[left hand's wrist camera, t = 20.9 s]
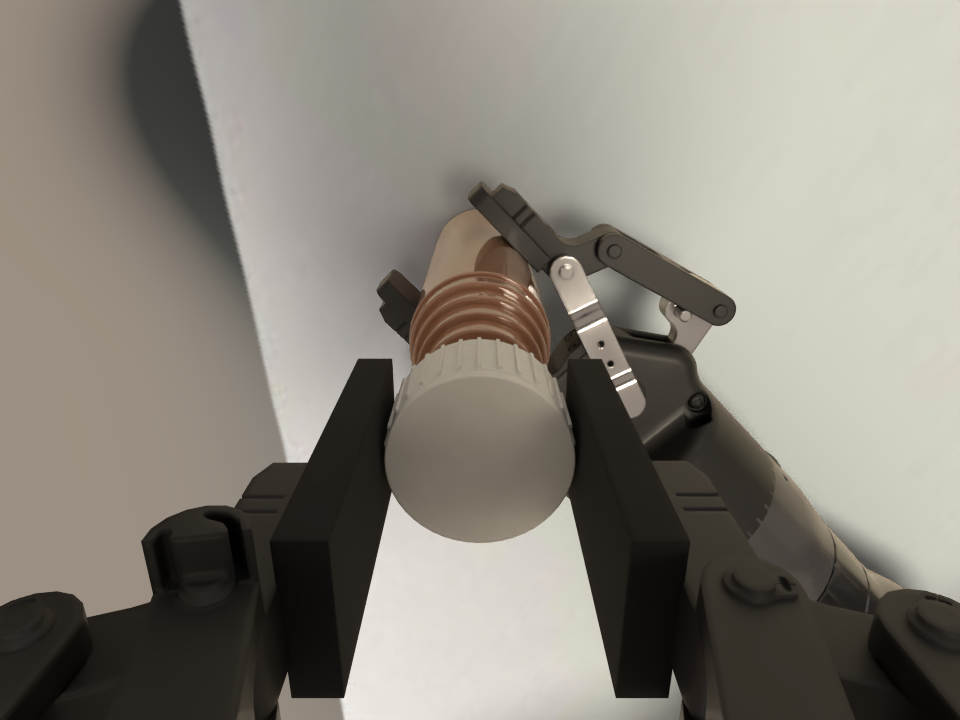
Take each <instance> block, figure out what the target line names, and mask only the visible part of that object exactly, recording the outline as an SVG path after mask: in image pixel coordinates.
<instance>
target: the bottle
mask: <svg viewBox="0 0 960 720" xmlns="http://www.w3.org/2000/svg"><path fill="white" fill-rule="evenodd" d="M477 337H481V339H486V340H495V341H496V339H500V342H505V343H508V344H511V345H514V344H516V345H518V348H520V349H522V350H524V351H526V352H527V353H530V352H531V353H533V354H534V358H536V359H537V360H538V361H539V362H540V363H541V364H542V365H543V364H546V365H547V366H548V362H549V358H550V342H551V335H550V326H549V322H548V319H547V315H546V312H545V309H544V306H543V303H542V300H541V297H540V294H539V290H538V287H537V284H536V281H535V278H534V275H533V272H532V269H531V266H530V264H529V263H528V262H527V261H526V260H525V259H524V258H523V257H522V255H521V254H520V253H518V252H517V251H516V250H515V249H514V248H513V247H512V246H511V244H510V243H509V242H508V241H507V240H506V239H505V238H504V237H503V236H502V235H501V234H500V233H499V232H498V231H497V230H496V229H495V228H494V227H493V226H492V225H491V224H490V223H489V222H488V221H487V220H486V219H485V217H484V216H483V215H482V214H481V213H480V212H479V211H478V210H477V209H473V210H468V211H465V212H462V213H460V214H458V215H457V216H455V217H454V218H452V219H451V220H450V221H449V222H448V223H447V224H446V226H445V227H444V228H443V230H442V231H441V233H440V236H439V238H438V241H437V244H436V247H435V251H434V254H433V257H432V260H431V263H430V266H429V269H428V272H427V275H426V278H425V281H424V285H423V288H422V291H421V294H420V297H419V300H418V303H417V306H416V309H415V312H414V316H413V319H412V322H411V327H410V336H409V342H410V358H411V362H412V366H413V365H414V364H415V365H416V366H417V365H418V364H419V363H420V362H421V361H422V360H423V359H424V358H425V355H426V354H427V353H429V354H431V353H433V352H434V351H436V350H438V349H440V348H441V345H443V344H445V346H447V345H449V344H452V343H456V342H459V339H463V341H465V340H471V339H477Z"/></svg>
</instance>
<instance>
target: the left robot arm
mask: <svg viewBox="0 0 960 720" xmlns="http://www.w3.org/2000/svg"><path fill="white" fill-rule="evenodd" d="M393 405H394V385H393V366H392V359H358V360H357V362H356V365H355V367H354V369H353V371H352V373H351V375H350V377H349V379H348V381H347V383H346V385H345V387H344V389H343V391H342V393H341V395H340V397H339V399H338V402H337V404H336V406H335V408H334V410H333V412H332V414H331V416H330V418H329V420H328V422H327V424H326V426H325V428H324V430H323V432H322V434H321V436H320V439H319V441H318V443H317V445H316V447H315V449H314V451H313V453H312V455H311V457H310V459H309V461H308V463H272V464H271V465H270V466H268V467H267V468H266V469H264V470H263V471H261V472H260V473H259V474H257V475H256V476H255V477H253V478H252V480H251V482H250V483H249V485H248V486H247V488H246V490H245V491H244V493H243V495H242V499H240V500H239V501H238V503H237V504H236V506H235V508H233V507H229V506H203V507H198V508H194V509H189V510H185V511H183V512H180V513H178V514H175V515H173V516H170V517H168V518H166V519H165V520H163V521H162V522H160V523H159V524H157V525H156V526H154V527H153V528H151V529H150V531H149V532H148V533H147V534H146V536H145V537H144V538H143V540H142V541H141V543H142V547H143V552H144V556H145V560H146V565H147V569H148V573H149V578H150V582H151V587H152V591H153V596H152V599H151V601H150V602H149V603H146V604H142V605H139V606H136V607H132V608H128V609H124V610H119V611H115V612H110V613H105V614H101V615H96V616H92V617H88V618H87V617H86V613H85V609H84V606H83V603H82V602H81V601H80V600H79V599H78V598H76V597H75V596H74V595H73V594H67V593H62V592H57V591H56V592H46V593H36V594H32V595H29V596H25V597H22V598H19V599H16V600H13V601H10V602H8V603H6V604H4V605H2V606H0V720H281V717H280V711H279V704H278V698H279V695H280V692H281V689H282V686H283V683H284V681H285V678H286V675H287V672H288V676H289V683H290V690H291V697H292V698H344V696H345V692H346V687H347V683H348V679H349V674H350V670H351V666H352V661H353V657H354V653H355V648H356V644H357V640H358V635H359V631H360V627H361V622H362V618H363V614H364V609H365V605H366V601H367V596H368V592H369V588H370V583H371V579H372V575H373V570H374V566H375V562H376V557H377V553H378V549H379V544H380V540H381V536H382V531H383V527H384V523H385V518H386V514H387V510H388V505H389V501H390V497H391V492H392V490H391V488H390V486H389V483H388V480H387V476H386V472H385V463H384V455H385V447H384V442H385V439H386V435H387V432H388V429H387V426H388V422H389V419H390V416H391V412H392V409H393ZM566 406H567V409H568V413H569V416H570V419H571V423H572V426H573V428H572V431H573V435H574V438H575V442H576V445H574V447H575V470H574V476H573V479H572V482H571V486H570V488H569V490H568V492H569V497H570V501H571V505H572V510H573V514H574V518H575V523H576V527H577V531H578V536H579V540H580V544H581V549H582V553H583V557H584V562H585V566H586V570H587V575H588V579H589V583H590V588H591V592H592V596H593V601H594V605H595V609H596V614H597V618H598V622H599V627H600V631H601V635H602V640H603V644H604V648H605V653H606V657H607V661H608V666H609V670H610V674H611V679H612V683H613V687H614V692H615V696H616V698H668V697H669V690H670V683H671V676H672V669H673V672H674V675H675V677H676V680H677V683H678V686H679V689H680V692H681V695H682V704H681V711H680V717H679V720H960V603H958V602H956V601H954V600H952V599H950V598H947V597H944V596H942V595H937V594H935V593H931V592H928V591H922V590H912V589H900V590H895V591H890V592H887V593H886V594H885V595H883V596H882V597H881V598H880V599H879V600H878V602H877V606H876V609H875V613H874V615H871V614H867V613H862V612H858V611H853V610H849V609H844V608H840V607H835V606H831V605H827V604H823V603H820V602H817V601H813V600H811V599H809V598H808V595H807V593H806V592H805V590H804V589H803V587H802V586H801V584H800V583H799V581H798V580H797V579H796V578H794V577H793V576H792V575H791V574H789V573H788V572H787V571H786V570H784V569H783V568H781V567H779V566H777V565H775V564H772V563H770V562H768V561H766V560H764V559H759V558H758V557H757V555H756V553H755V552H754V550H753V548H752V547H751V545H750V544H749V542H748V540H747V539H746V537H745V536H744V534H743V532H742V531H741V529H740V527H739V526H738V524H737V523H736V521H735V519H734V518H733V516H732V515H731V513H730V511H727V506H726V505H725V503H724V502H723V500H722V498H721V497H718V492H717V490H716V489H715V487H714V486H713V484H712V482H711V481H710V479H709V477H708V476H707V475H706V474H704V473H703V472H702V471H700V470H699V469H697V468H696V467H695V466H693V465H692V464H691V463H689V462H688V461H651V459H650V457H649V455H648V453H647V451H646V449H645V447H644V445H643V443H642V441H641V439H640V437H639V434H638V432H637V430H636V428H635V426H634V424H633V422H632V420H631V418H630V416H629V414H628V412H627V410H626V408H625V406H624V404H623V402H622V400H621V397H620V395H619V393H618V391H617V389H616V387H615V385H614V383H613V381H612V379H611V377H610V375H609V373H608V371H607V369H606V367H605V365H604V363H603V360H602V359H568V365H567V384H566Z"/></svg>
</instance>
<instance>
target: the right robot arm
mask: <svg viewBox="0 0 960 720" xmlns="http://www.w3.org/2000/svg"><path fill="white" fill-rule="evenodd" d="M468 200H469V201H470V202H471V204H472V205H473V206H474V207H475V208H476V209H477V210H478V211H479V212H480V213H481V214H482V215H483V216H484V217H485V219H486V220H487V221H488V222H489V223H490V224H491V225H492V226H493V227H494V228H495V229H496V230H497V231H498V232H499V233H500V234H501V235H502V236H503V237H504V238H505V239H506V240H507V241H508V242H509V243H510V244H511V246H512V247H513V248H514V249H515V250H516V251H517V252H518V253H520V254H521V255H522V257H523V258H524V259H525V260H526V261H527V262H528V263H529V264H530V265H531V266H532V267H533V268H534V269H535V270H536V272H537V273H538V272H539V271H540V270H541V269H543V270H544V271H545V272H546V273H547V274H548V276H549V277H550V278H551V280H552V282H553V284H554V286H555V288H556V290H557V292H558V294H559V296H560V298H561V300H562V302H563V304H564V306H565V308H566V310H567V312H568V314H569V316H570V318H571V320H572V322H573V324H574V326H575V328H574V329H573V330H572V331H571V332H569V333H568V334H567V335H566V336H565V337H564V338H563V339H562V340H561V342H560V343H559V345H558V346H557V348H556V349H555V351H554V352H553V353H552V354H551V355H550V358H549V362H548V366H547V369H548V372H549V373H550V374H551V376H552V378H554V377H556V379H557V382H558V385H559V389H560V393H562V392H563V395H564V399H565V402H566V384H567V365H568V359H602V360H603V363H604V365H605V367H606V369H607V371H608V373H609V375H610V377H611V379H612V381H613V383H614V385H615V387H616V389H617V391H618V393H619V395H620V397H621V400H622V402H623V404H624V406H625V408H626V410H627V412H628V414H629V416H630V418H631V420H632V422H633V424H634V426H635V428H636V430H637V432H638V434H639V437H640V439H641V441H642V443H643V445H644V447H645V449H646V451H647V453H648V455H649V457H650V459H651V461H688V462H689V463H691V464H692V465H693V466H695V467H696V468H697V469H699V470H700V471H702V472H703V473H704V474H706V475H707V476H708V477H709V479H710V481H711V482H712V484H713V486H714V487H715V489H716V490H717V492H718V497H721V498H722V500H723V502H724V503H725V505H726V506H727V511H730V513H731V515H732V516H733V518H734V519H735V521H736V523H737V524H738V526H739V527H740V529H741V531H742V532H743V534H744V536H745V537H746V539H747V540H748V542H749V544H750V545H751V547H752V548H753V550H754V552H755V553H756V555H757V557H758V558H759V559H764V560H766V561H768V562H770V563H772V564H775V565H777V566H779V567H781V568H783V569H784V570H786V571H787V572H788V573H789V574H791V575H792V576H793V577H794V578H796V579H797V580H798V581H799V583H800V584H801V586H802V587H803V589H804V590H805V592H806V593H807V595H808V598H809V599H811V600H813V601H817V602H820V603H823V604H827V605H831V606H835V607H840V608H844V609H849V610H853V611H858V612H862V613H867V614H871V615H874V613H875V609H876V606H877V602H878V600H879V599H880V598H881V597H882V596H883V595H885V594H886V593H887V592H890V591H895V590H900V589H905V588H903V587H901V586H900V585H898V584H896V583H894V582H893V581H891V580H889V579H887V578H885V577H883V576H881V575H879V574H877V573H875V572H873V571H871V570H869V569H867V568H865V566H864V565H863V564H862V563H861V562H860V561H859V560H858V559H857V558H856V557H855V555H854V554H853V553H852V552H851V551H850V550H849V549H848V548H847V547H846V546H845V545H844V543H843V542H842V541H841V540H840V539H839V538H838V537H837V536H836V535H835V534H834V533H833V532H832V531H831V530H830V528H829V527H828V526H827V525H826V524H825V523H824V522H823V521H822V520H821V518H820V517H819V516H818V514H817V513H816V511H815V510H814V508H813V507H812V505H811V503H810V502H809V501H808V499H807V498H806V496H805V495H804V494H803V492H802V491H801V490H800V489H799V487H798V486H797V485H796V484H795V483H794V481H793V480H792V479H791V478H790V477H789V476H788V475H787V474H786V473H785V472H784V471H783V470H782V469H781V466H780V465H779V463H778V462H777V460H776V459H775V458H774V457H773V456H772V455H771V454H769V453H768V452H766V451H765V450H764V449H763V448H762V447H761V446H760V445H759V444H758V443H757V442H756V441H755V440H754V438H753V437H752V436H751V435H750V434H749V433H748V432H747V431H746V430H745V429H744V428H743V427H742V426H741V424H740V423H739V422H738V421H737V420H736V419H735V418H734V417H733V416H732V415H731V414H730V413H729V412H728V410H727V409H726V408H725V407H724V406H723V405H722V404H721V403H720V402H719V401H718V400H717V399H716V398H715V396H714V395H713V394H712V393H711V392H710V391H709V390H708V389H707V388H706V387H705V386H704V385H703V384H702V382H701V381H700V379H699V376H698V373H697V365H696V361H695V359H694V357H693V355H692V353H693V352H694V350H695V349H696V348H697V346H698V345H699V343H700V342H701V340H702V339H703V338H704V336H705V335H706V333H707V332H708V331H709V329H710V328H711V326H712V325H715V326H721V325H725V324H727V323H728V322H730V321H731V320H732V318H733V317H734V315H735V312H736V305H735V302H734V301H733V300H732V299H731V298H730V297H729V296H727V295H726V294H725V293H723V292H722V291H721V290H719V289H718V288H717V287H715V286H714V285H713V284H711V283H710V282H709V281H707V280H705V279H703V278H702V277H700V276H698V275H696V274H695V273H693V272H691V271H689V270H688V269H686V268H684V267H682V266H681V265H679V264H677V263H675V262H674V261H672V260H670V259H668V258H667V257H665V256H663V255H661V254H660V253H658V252H656V251H654V250H653V249H651V248H649V247H647V246H646V245H644V244H642V243H640V242H639V241H637V240H635V239H633V238H632V237H630V236H628V235H626V234H625V233H623V232H621V231H619V230H618V229H616V228H614V227H613V226H611V225H608V224H599V225H597V226H595V227H594V228H593V229H592V230H591V231H590V232H588V233H586V234H583V235H581V236H579V237H576V238H573V239H566V238H562V237H560V236H558V235H557V234H556V233H555V232H554V231H553V230H552V229H551V228H550V227H549V226H548V225H547V224H546V222H545V221H544V220H543V219H542V218H541V217H540V216H539V215H538V214H537V213H536V212H535V211H534V210H533V209H532V208H531V206H530V205H529V204H528V203H527V202H526V201H525V200H524V199H523V198H522V197H521V196H520V195H519V193H518V192H517V191H516V190H515V189H513V188H511V187H509V186H507V185H504V184H502V183H501V184H500V185H499V186H498V187H497V188H496V189H495V190H494V191H493V192H492V191H491V190H490V189H489V188H488V187H487V186H486V185H485V184H484V183H483V182H482V181H481V182H480V183H479V184H478V185H477V186H476V187H475V188H474V189H473V190H472V191H471V192H470V193H469V194H468ZM607 267H609V268H611V269H613V270H615V271H617V272H618V273H620V274H622V275H624V276H626V277H627V278H629V279H631V280H633V281H635V282H636V283H638V284H640V285H642V286H643V287H645V288H647V289H649V290H651V291H652V292H654V293H656V294H658V295H660V296H661V297H662V298H661V299H660V302H659V309H660V312H661V313H662V314H663V316H664V317H665V318H666V319H667V320H668V321H669V322H670V326H671V327H670V332H669V334H668V336H667V335H661V334H655V333H648V332H642V331H636V330H630V329H624V328H618V327H612V326H610V324H609V322H608V320H607V318H606V316H605V314H604V312H603V310H602V308H601V306H600V304H599V302H598V300H597V298H596V296H595V293H594V291H593V289H592V287H591V285H590V283H589V281H588V279H587V277H586V276H588V275H590V274H593V273H595V272H597V271H600V270H602V269H604V268H607ZM377 293H378V295H379V296H380V298H381V299H382V300H383V303H382V305H381V307H380V309H379V310H380V312H381V314H382V316H383V318H384V320H385V322H386V323H387V324H388V325H389V326H390V327H391V328H392V329H393V330H394V331H396V332H397V333H398V334H399V335H400V336H401V337H402V338H404V339H405V341H406V342H408V343H409V344H410V342H409V336H410V327H411V322H412V319H413V316H414V312H415V309H416V306H417V303H418V300H419V297H420V294H421V292H420V291H419V290H418V289H417V288H416V287H415V286H413V285H412V284H411V283H410V282H409V281H408V280H407V279H406V278H405V277H404V276H403V275H402V274H401V273H399V272H398V271H396V270H392V271H391V272H390V273H389V274H388V275H387V276H386V277H385V278H384V279H383V280H382V281H381V283H380V285H379V286H378V288H377ZM566 496H567V497H568V498H569V499H570V497H569V492H567V494H566Z"/></svg>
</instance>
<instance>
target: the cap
mask: <svg viewBox="0 0 960 720" xmlns="http://www.w3.org/2000/svg"><path fill="white" fill-rule="evenodd" d="M572 428H573V426H572V423H571V419H570V416H569V413H568V409H567V406H566V402H565V399H564V395H563V392H562V393H560V389H559V385H558V382H557V379H556V377H554V378H552V376H551V374H550V373H549V372H548V369H547V365H546V364H543V365H542V364H541V363H540V362H539V361H538V360H537V359H536V358H534V354H533V353H531V352H530V353H527V352H526V351H524V350H522V349H520V348H518V345H516V344H514V345H511V344H508V343H505V342H500V339H496V341H495V340H486V339H481V337H477V339H471V340H465V341H463V339H459V342H456V343H452V344H449V345H447V346H445V344H443V345H441V348H440V349H438V350H436V351H434V352H433V353H431V354H429V353H427V354H426V355H425V358H424V359H423V360H422V361H421V362H420V363H419V364H418V365H417V366H416V365H415V364H414V365H413V366H412V370H411V373H410V374H409V376H408V377H407V379H405V378H404V379H403V381H402V384H401V387H400V391H399V394H398V393H397V395H396V398H395V402H394V405H393V409H392V412H391V416H390V419H389V422H388V426H387V429H388V432H387V435H386V439H385V442H384V447H385V455H384V463H385V472H386V476H387V480H388V483H389V486H390V488H391V490H392V493H393V494H394V496H395V498H396V499H397V501H398V503H399V504H400V505H401V507H402V508H403V509H404V510H405V512H406V513H408V514H409V515H410V516H411V517H412V518H413V519H414V520H415V521H416V522H418V523H419V524H420V525H422V526H423V527H425V528H427V529H429V530H430V531H432V532H434V533H436V534H439V535H441V536H443V537H447V538H450V539H453V540H458V541H463V542H473V543H488V542H496V541H502V540H506V539H510V538H513V537H516V536H519V535H521V534H524V533H526V532H528V531H530V530H531V529H533V528H535V527H536V526H538V525H539V524H541V523H542V522H544V521H545V520H546V519H547V518H548V517H549V516H550V515H551V514H552V513H553V512H554V511H555V510H556V509H557V508H558V507H559V505H560V504H561V502H562V501H563V499H564V498H565V496H566V494H567V492H568V490H569V488H570V486H571V482H572V479H573V476H574V470H575V447H574V445H576V442H575V438H574V435H573V431H572Z"/></svg>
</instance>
